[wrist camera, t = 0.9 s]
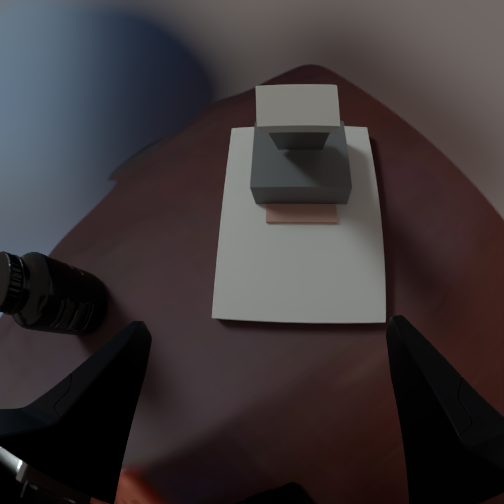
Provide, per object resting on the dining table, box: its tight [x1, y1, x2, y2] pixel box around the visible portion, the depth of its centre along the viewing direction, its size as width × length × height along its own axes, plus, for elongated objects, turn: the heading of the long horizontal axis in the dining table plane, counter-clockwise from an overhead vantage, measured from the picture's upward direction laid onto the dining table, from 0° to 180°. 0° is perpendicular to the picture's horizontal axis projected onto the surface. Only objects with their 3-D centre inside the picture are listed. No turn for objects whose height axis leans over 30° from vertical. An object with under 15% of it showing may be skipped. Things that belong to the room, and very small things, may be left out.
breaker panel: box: [212, 121, 386, 324], centre depth 24 cm, size 19×14×4 cm
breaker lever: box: [256, 84, 340, 150], centre depth 17 cm, size 2×4×10 cm, turn 86°
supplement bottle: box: [0, 251, 107, 336], centre depth 21 cm, size 7×7×12 cm
